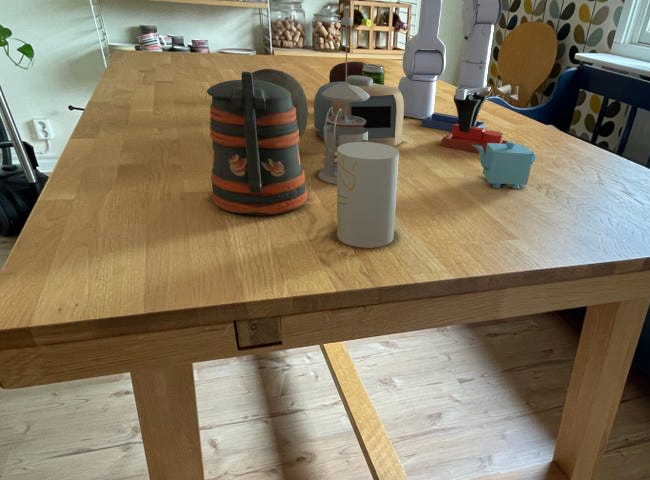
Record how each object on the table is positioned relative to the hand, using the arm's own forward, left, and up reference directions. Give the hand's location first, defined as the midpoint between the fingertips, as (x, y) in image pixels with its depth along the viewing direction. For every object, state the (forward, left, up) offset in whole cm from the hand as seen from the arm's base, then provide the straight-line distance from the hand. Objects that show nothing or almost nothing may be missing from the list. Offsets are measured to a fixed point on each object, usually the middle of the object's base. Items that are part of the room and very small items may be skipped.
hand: (466, 130), depth 123 cm
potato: (-41, +21, -3) cm, 46 cm away
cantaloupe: (-28, -33, -3) cm, 43 cm away
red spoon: (+3, 0, -1) cm, 3 cm away
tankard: (-13, -57, -3) cm, 59 cm away
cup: (+6, -58, -3) cm, 58 cm away
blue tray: (-8, +14, -3) cm, 16 cm away
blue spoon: (-8, +14, -3) cm, 16 cm away
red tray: (+3, 0, -3) cm, 4 cm away
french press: (-10, -37, -3) cm, 38 cm away
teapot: (+15, -22, -3) cm, 27 cm away
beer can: (-28, +8, -3) cm, 29 cm away
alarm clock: (-22, -10, -3) cm, 24 cm away
